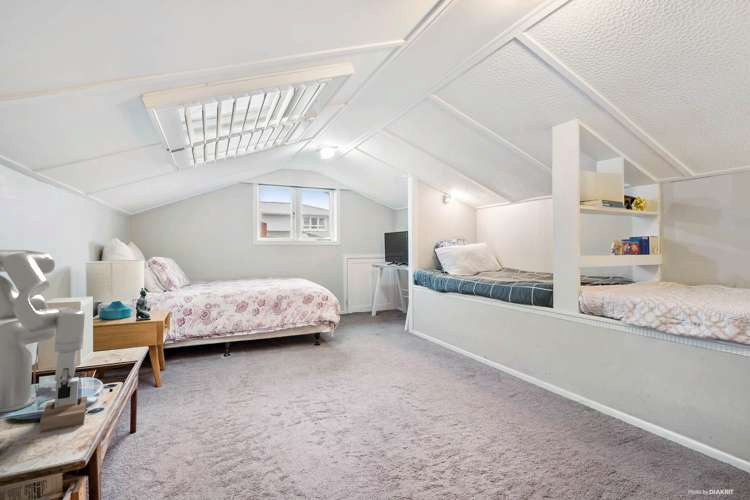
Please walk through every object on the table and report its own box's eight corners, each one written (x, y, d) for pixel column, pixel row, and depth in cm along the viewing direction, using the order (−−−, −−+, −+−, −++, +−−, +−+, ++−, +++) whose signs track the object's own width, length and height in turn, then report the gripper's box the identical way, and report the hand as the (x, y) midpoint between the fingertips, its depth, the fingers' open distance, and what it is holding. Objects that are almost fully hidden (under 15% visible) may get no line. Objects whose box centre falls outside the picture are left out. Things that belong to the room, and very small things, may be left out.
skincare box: (53, 418, 122) (55, 383, 122) (55, 412, 125) (56, 379, 125) (76, 413, 126) (78, 380, 125) (77, 409, 129) (79, 376, 129)
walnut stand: (46, 415, 125) (47, 402, 125) (86, 408, 132) (86, 396, 132) (39, 433, 114) (40, 419, 114) (83, 424, 121) (84, 411, 121)
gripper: (58, 339, 130) (54, 385, 130) (51, 353, 116) (47, 404, 116) (84, 338, 134) (81, 382, 135) (80, 351, 121) (76, 400, 121)
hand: (65, 392), depth 125 cm, fingers open, 9 cm apart
